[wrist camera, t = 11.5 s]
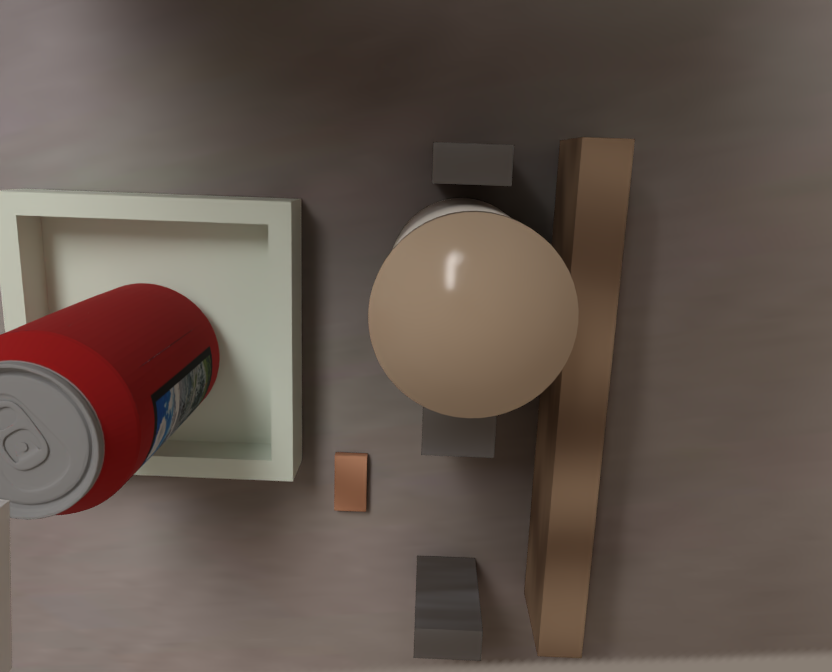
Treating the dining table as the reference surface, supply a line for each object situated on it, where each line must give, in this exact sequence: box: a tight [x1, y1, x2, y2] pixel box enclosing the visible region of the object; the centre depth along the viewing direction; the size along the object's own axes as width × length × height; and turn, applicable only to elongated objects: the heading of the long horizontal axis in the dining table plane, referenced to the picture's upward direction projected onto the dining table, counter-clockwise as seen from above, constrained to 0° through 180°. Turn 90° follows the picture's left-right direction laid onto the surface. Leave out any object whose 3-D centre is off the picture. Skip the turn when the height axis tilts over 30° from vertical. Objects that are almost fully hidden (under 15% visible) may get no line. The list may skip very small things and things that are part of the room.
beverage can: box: [0, 283, 220, 520], centre depth 29 cm, size 7×7×12 cm
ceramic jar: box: [368, 198, 579, 418], centre depth 29 cm, size 7×7×11 cm
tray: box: [0, 189, 302, 481], centre depth 34 cm, size 13×13×2 cm
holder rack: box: [334, 137, 635, 661], centre depth 32 cm, size 23×12×6 cm, turn 178°
